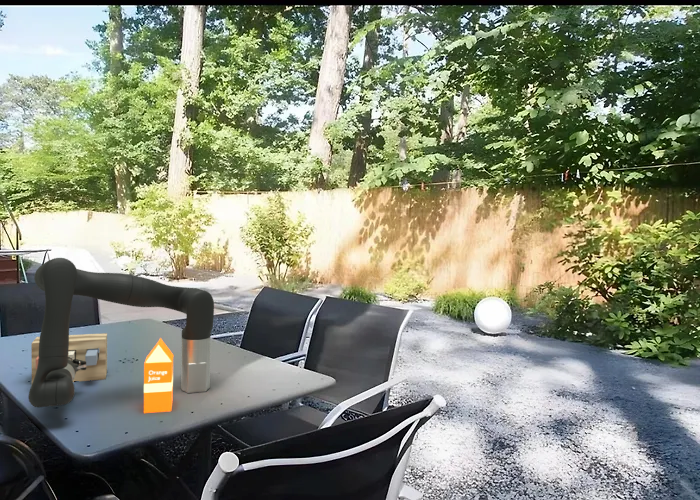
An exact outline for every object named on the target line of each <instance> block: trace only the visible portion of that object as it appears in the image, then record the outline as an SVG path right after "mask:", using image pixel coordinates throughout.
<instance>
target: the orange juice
mask: <svg viewBox="0 0 700 500" xmlns="http://www.w3.org/2000/svg"><path fill="white" fill-rule="evenodd" d="M174 357H175V356H174V353H172V351H171V349H170V348H169V347H168V346H167V345H166V343H165V342H164V341H163V339H162V337H159V339H158V341H157V342H156V343H155V345H154V346H153V348H152V349H151V350H150V351H149V353H148V355H146V358H145V360H144V363H143V414H150V413H151V414H152V413H165V412H172V409H173V408H172V407H173V401H174V400H173V398H174V394H173V393H174V391H173V390H174V389H173V388H174Z"/></svg>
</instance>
